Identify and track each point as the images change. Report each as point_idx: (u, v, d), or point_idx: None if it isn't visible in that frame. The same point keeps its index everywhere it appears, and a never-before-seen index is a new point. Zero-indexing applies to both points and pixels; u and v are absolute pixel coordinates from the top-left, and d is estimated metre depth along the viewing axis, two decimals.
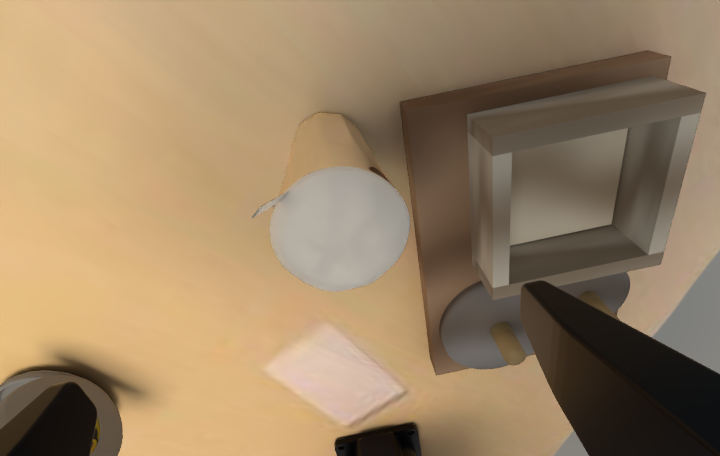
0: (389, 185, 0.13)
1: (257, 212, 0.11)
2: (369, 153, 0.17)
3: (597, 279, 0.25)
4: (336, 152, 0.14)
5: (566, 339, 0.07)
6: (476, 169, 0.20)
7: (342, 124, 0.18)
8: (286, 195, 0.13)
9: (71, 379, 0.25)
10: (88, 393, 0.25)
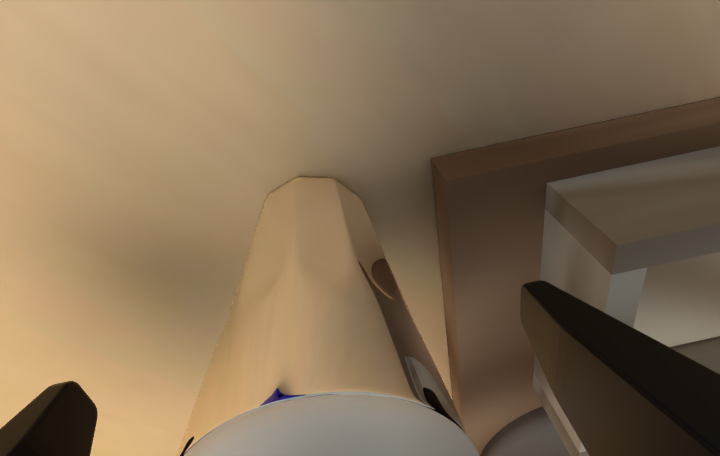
0: (445, 431, 0.05)
1: None
2: (386, 275, 0.09)
3: None
4: (320, 317, 0.07)
5: (566, 339, 0.07)
6: (560, 273, 0.12)
7: (336, 207, 0.10)
8: None
9: None
10: None
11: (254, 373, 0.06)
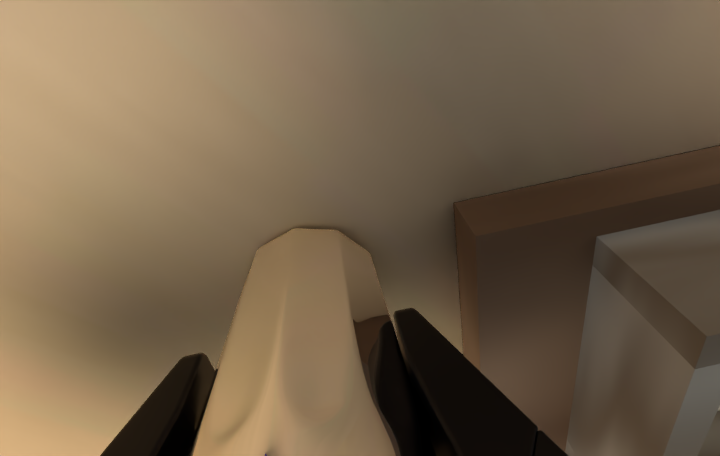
0: None
1: None
2: (400, 385, 0.07)
3: None
4: None
5: (412, 373, 0.07)
6: (612, 343, 0.10)
7: (338, 278, 0.08)
8: None
9: None
10: None
11: None
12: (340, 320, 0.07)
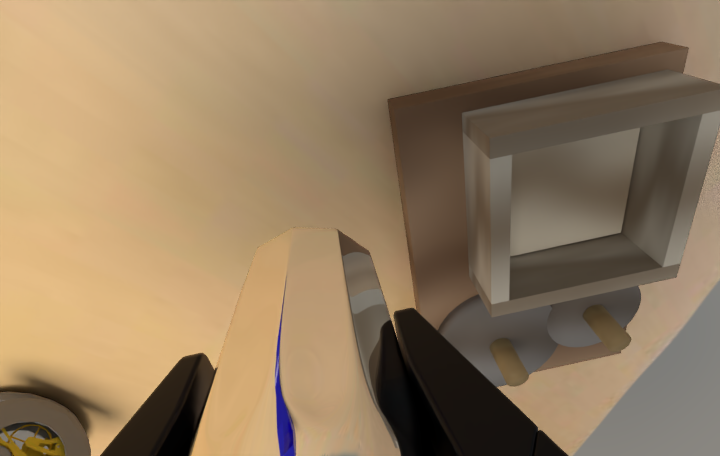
0: None
1: None
2: (399, 383, 0.07)
3: (605, 292, 0.23)
4: None
5: (411, 372, 0.07)
6: (472, 173, 0.18)
7: (338, 276, 0.08)
8: None
9: (34, 402, 0.23)
10: (53, 417, 0.23)
11: None
12: (339, 318, 0.07)
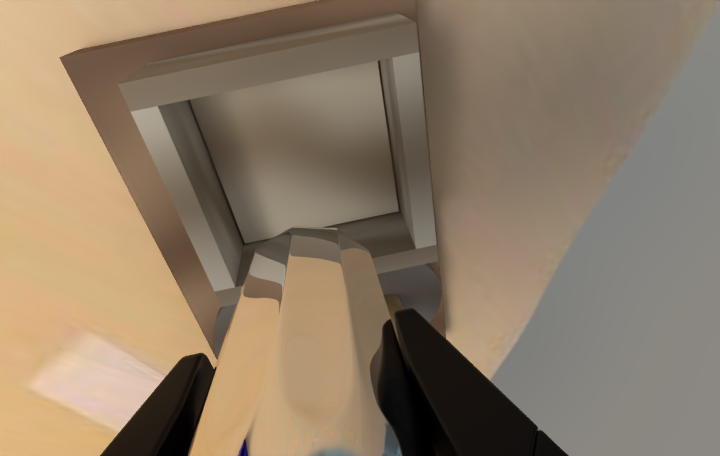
0: None
1: None
2: (400, 383, 0.07)
3: (395, 280, 0.20)
4: None
5: (412, 372, 0.07)
6: None
7: (338, 276, 0.08)
8: None
9: None
10: None
11: None
12: (339, 318, 0.07)
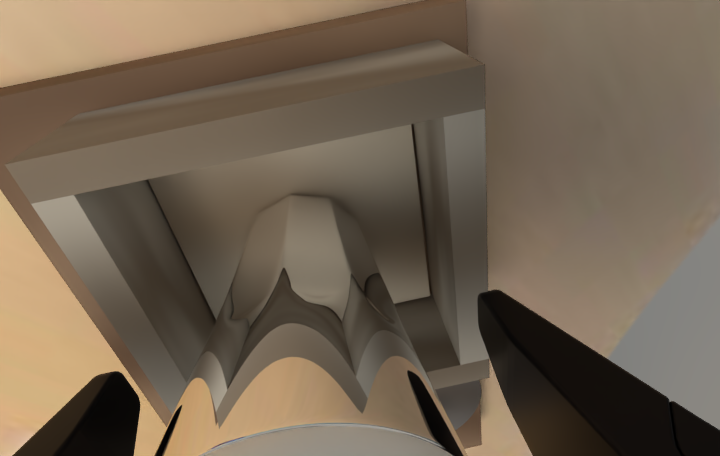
0: None
1: None
2: (383, 297, 0.08)
3: None
4: (310, 337, 0.06)
5: (513, 350, 0.07)
6: None
7: (330, 225, 0.10)
8: None
9: None
10: None
11: (232, 400, 0.05)
12: (333, 248, 0.09)
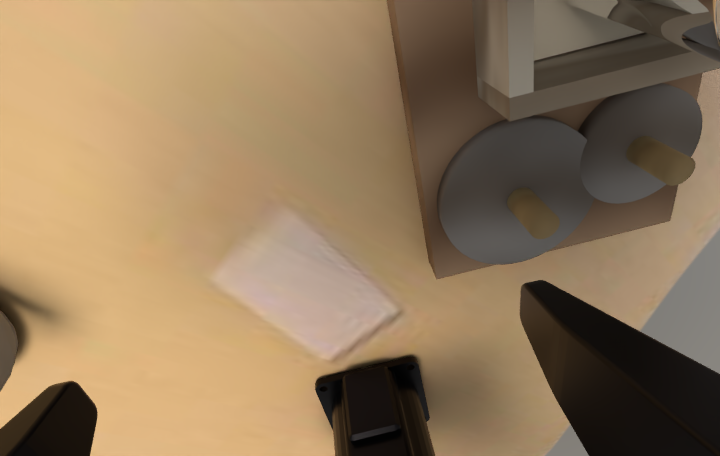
0: None
1: None
2: None
3: (657, 116, 0.17)
4: None
5: (566, 339, 0.07)
6: None
7: None
8: None
9: None
10: None
11: None
12: None
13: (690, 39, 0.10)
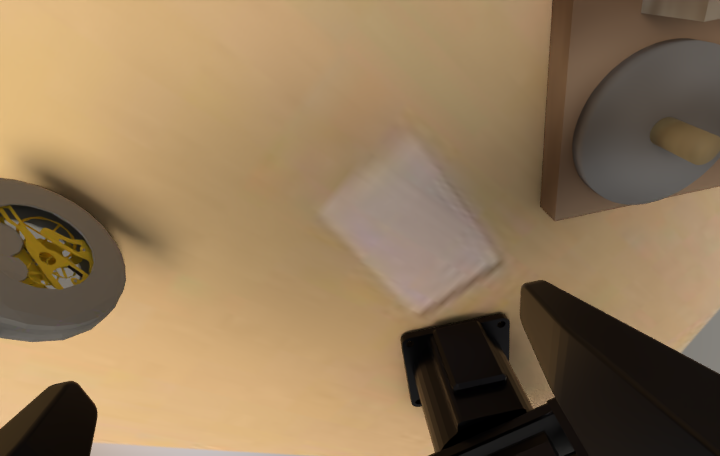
0: None
1: None
2: None
3: None
4: None
5: (566, 339, 0.07)
6: None
7: None
8: None
9: (52, 194, 0.17)
10: (77, 216, 0.17)
11: None
12: None
13: None
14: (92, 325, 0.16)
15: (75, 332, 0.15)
